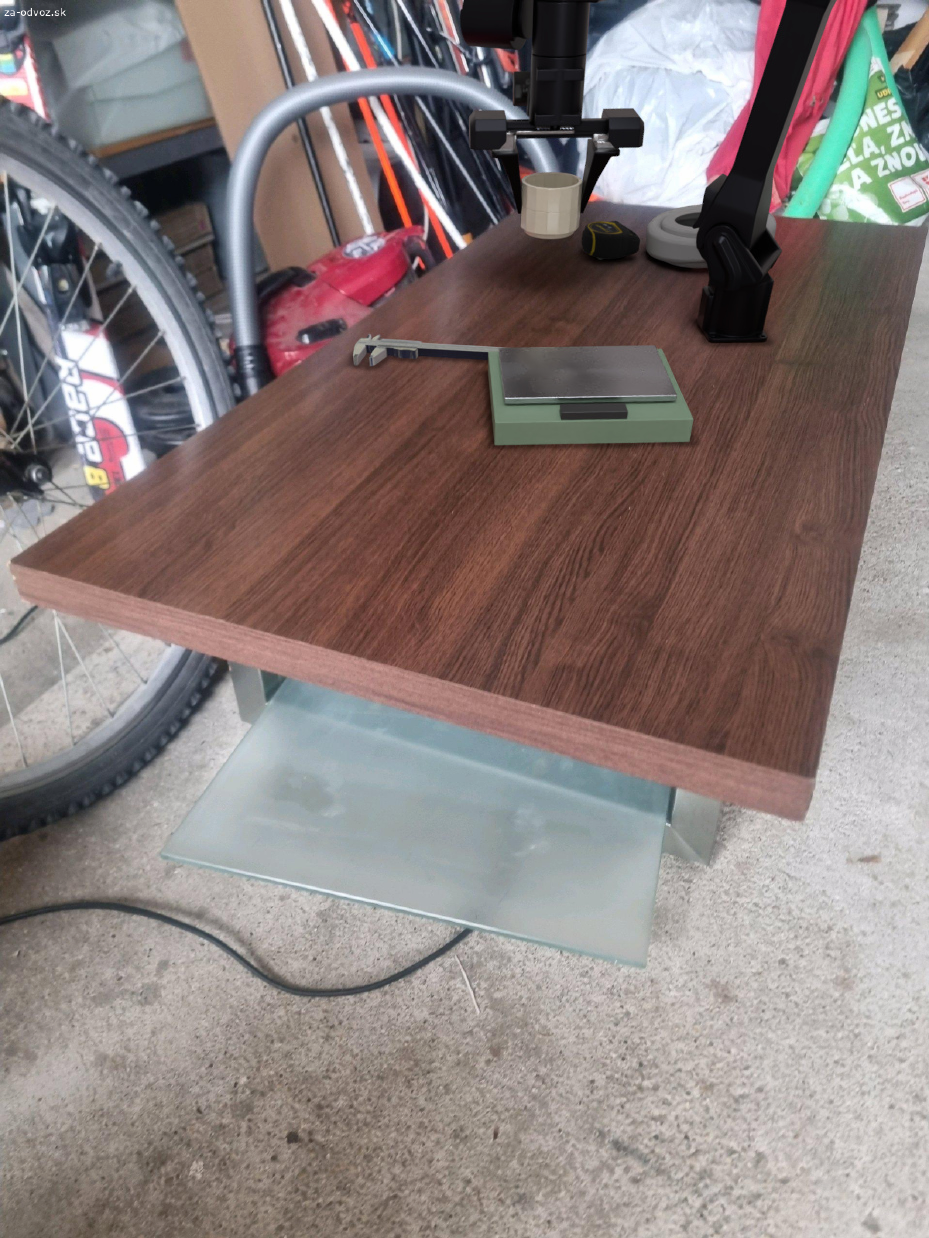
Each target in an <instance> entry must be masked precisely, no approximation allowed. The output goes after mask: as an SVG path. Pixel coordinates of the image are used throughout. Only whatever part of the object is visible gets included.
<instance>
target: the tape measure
mask: <svg viewBox="0 0 929 1238" xmlns="http://www.w3.org/2000/svg"><path fill="white" fill-rule="evenodd" d="M581 233H582V234H581V244H580V245H581V248H582V250H583V252H584V253H585V254H586V255H588V256H591V257H593V258H596V259H598V260H599V261H601V260H616V259H617V260H618V259H620V258H623V257H624V258H625V257H629V256H632V255H635V254H636V253H638V252H639V250H640V245H641V237H639V235H638V234H637V233H636V232H634V231H633V230H632V229H630V228H628V227H627V226H626V225H624V224H622V223H621V222H619V221H618V220H611V221H593V222H590V223H587V224H586V225H585V226H584V229H583V230H582V232H581Z"/></svg>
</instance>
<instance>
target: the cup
mask: <svg viewBox="0 0 929 1238" xmlns="http://www.w3.org/2000/svg"><path fill="white" fill-rule="evenodd" d="M582 179H583V178H581V177H580V176H577V175H575V174H571V173H569V172H557V171H542V172H536V173H535V172H534V173H531V174H527V175H525V176H523V177H522V178H521V194H522V211H521V214H519V215H520V216H519V217H520V219H519V225H520V229H522V230H523V231H524V233H525V234H526V235H528V236H529V237H532V238H536V239H542V240H560V239H564V238H568V237H570V236H572V235H574V233H575V231H577V230H578V229H579V228H580V221H581V220H580V219H581V213H580V207H581V195H582Z"/></svg>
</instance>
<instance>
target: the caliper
mask: <svg viewBox="0 0 929 1238" xmlns="http://www.w3.org/2000/svg"><path fill="white" fill-rule="evenodd" d="M499 348H506V347H505V346H504V347H503V346H501V347H500V346H488V345H487V346H486V345H470V344H469V345H466V344H451V343H449V344H448V343H433V342H432V343H431V342H423V341H422V340H410V339H395V338H394V339H392V338H381V334H377V335H376V336H375V335H374V337H372V335H371V333H368V335H367V336H366V337H360V338H359V340H358V341H357V342H356V343H355V344H354V347H353V354H352V359H353V366H356V367H357V366H359V365H360V364H361V362H362V361H363V360H364V358H365V357H366V355H368V354H370V356H369V360H368V361H369V367H373V366H377V365H378V364H379V363H380V362H381V361H383V360H385V358H388V357H394V358H400V359H412V360H417V359H418V358H419V357H428V358H443V359H444V358H445V359H460V360H463V359H464V360H478V361H479V360H481V361H488V352H498V350H499Z"/></svg>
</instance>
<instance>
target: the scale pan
mask: <svg viewBox="0 0 929 1238" xmlns="http://www.w3.org/2000/svg"><path fill="white" fill-rule="evenodd" d="M657 349H658V348H657V346H656V344H654V345H653V344H650V345H649V344H648V345H641V344H640V345H599V346H598V345H595V346H594V345H593V346H592V345H590V346H588V345H587V346H531V347H529V346H527V347H526V346H525V347H505V348H499V350H498V353H499V362H500V371H501V379H502V388H503V397H504V404H523V403H582V402H640V401H676V400H677V394H676V392H675V389H674V387H673V385H672V383H671V380H670V378H669V376H668V373H667V371H666V369H665V367H664V364H663V362H662V360H661V357H660V355H659V353H658V351H657Z"/></svg>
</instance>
